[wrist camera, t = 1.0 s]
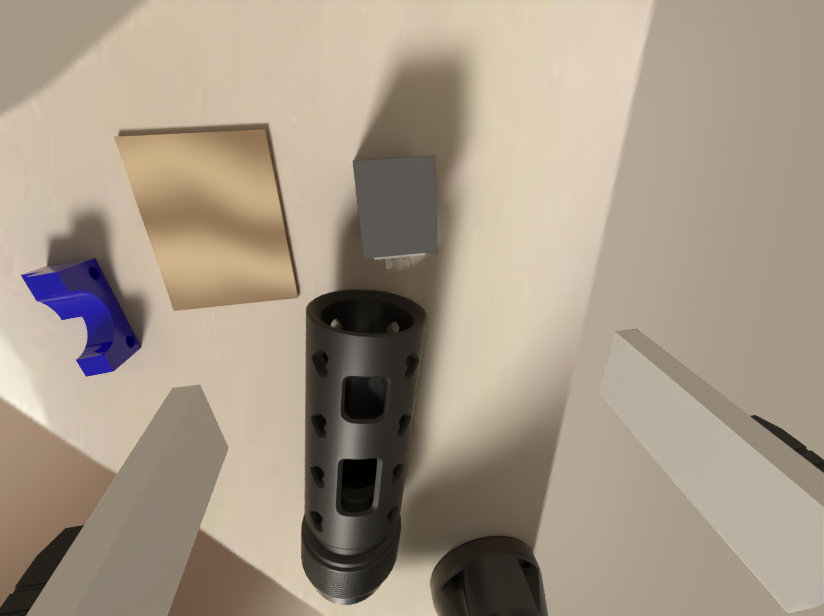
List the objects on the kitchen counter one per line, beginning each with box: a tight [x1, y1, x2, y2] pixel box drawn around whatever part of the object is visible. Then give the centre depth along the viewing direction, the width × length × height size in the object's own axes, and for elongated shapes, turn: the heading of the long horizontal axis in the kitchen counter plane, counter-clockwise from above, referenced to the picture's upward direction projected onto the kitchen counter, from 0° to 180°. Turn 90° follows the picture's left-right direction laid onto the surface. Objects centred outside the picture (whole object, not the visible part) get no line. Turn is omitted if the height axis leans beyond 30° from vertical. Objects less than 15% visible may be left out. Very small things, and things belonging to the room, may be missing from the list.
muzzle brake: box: [301, 290, 428, 605], centre depth 32 cm, size 10×28×10 cm, turn 173°
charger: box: [353, 156, 438, 269], centre depth 26 cm, size 8×5×7 cm, turn 3°
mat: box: [114, 129, 298, 311], centre depth 28 cm, size 13×10×1 cm
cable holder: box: [21, 258, 141, 377], centre depth 27 cm, size 8×4×4 cm, turn 9°
